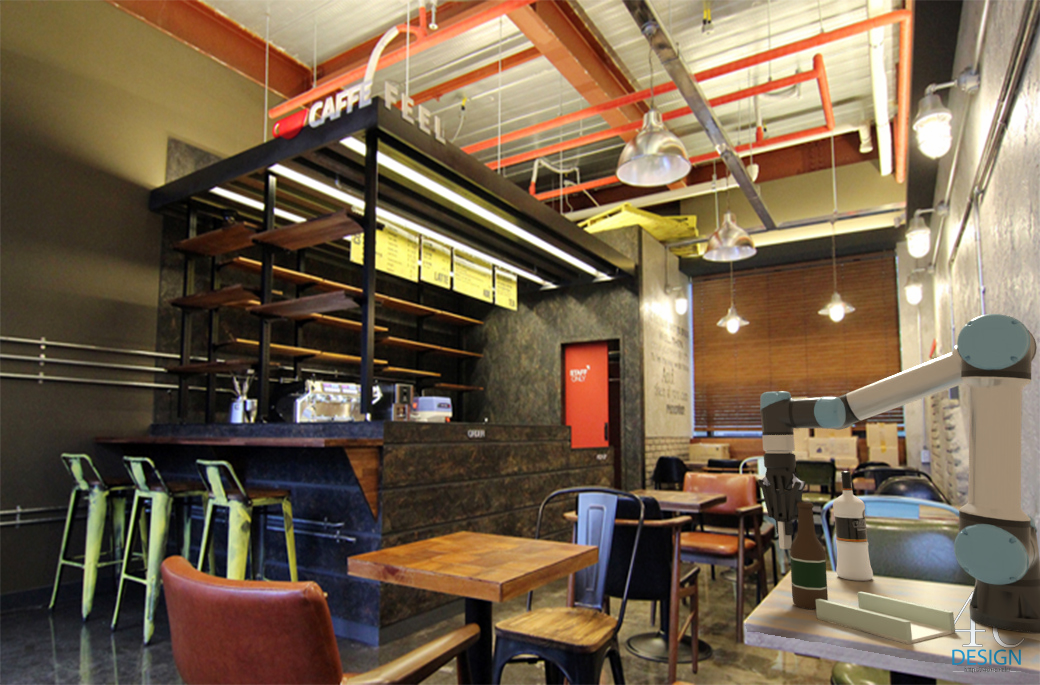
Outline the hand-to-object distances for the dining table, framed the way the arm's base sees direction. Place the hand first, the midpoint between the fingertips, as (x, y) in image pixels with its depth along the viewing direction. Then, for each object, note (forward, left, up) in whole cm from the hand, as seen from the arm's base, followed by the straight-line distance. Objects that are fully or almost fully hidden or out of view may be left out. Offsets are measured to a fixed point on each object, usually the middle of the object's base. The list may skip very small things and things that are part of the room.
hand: (785, 548), depth 156 cm
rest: (-24, 0, -12) cm, 27 cm away
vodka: (+9, -38, -13) cm, 41 cm away
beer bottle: (-6, 0, -13) cm, 14 cm away
